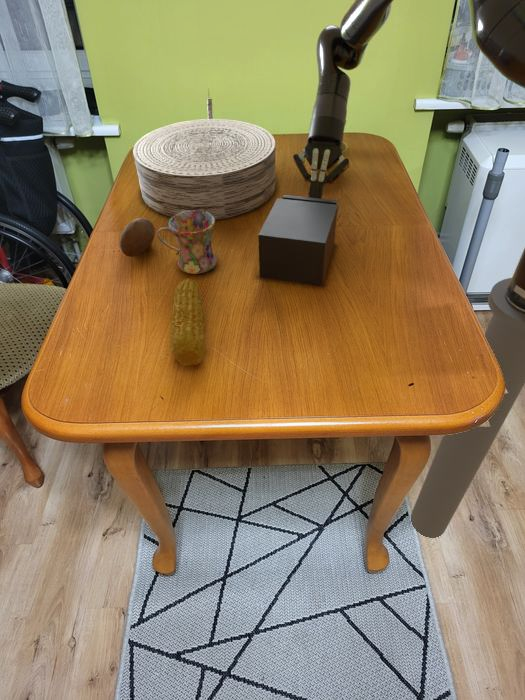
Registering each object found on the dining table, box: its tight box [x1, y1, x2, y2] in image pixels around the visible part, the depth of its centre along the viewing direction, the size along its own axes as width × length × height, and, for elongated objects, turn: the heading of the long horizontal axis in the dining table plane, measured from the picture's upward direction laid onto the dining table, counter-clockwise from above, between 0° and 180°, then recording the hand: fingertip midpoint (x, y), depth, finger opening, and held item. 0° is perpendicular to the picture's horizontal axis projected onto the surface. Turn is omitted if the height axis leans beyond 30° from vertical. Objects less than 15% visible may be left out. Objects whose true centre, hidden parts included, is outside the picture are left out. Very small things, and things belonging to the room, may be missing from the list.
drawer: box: [282, 194, 338, 205], centre depth 100 cm, size 18×11×8 cm, turn 165°
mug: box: [156, 210, 218, 275], centre depth 96 cm, size 11×9×10 cm
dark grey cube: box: [257, 198, 339, 287], centre depth 96 cm, size 15×13×10 cm
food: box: [170, 278, 207, 367], centre depth 83 cm, size 21×6×6 cm, turn 9°
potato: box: [119, 217, 156, 257], centre depth 101 cm, size 7×12×7 cm, turn 175°
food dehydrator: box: [132, 88, 276, 220], centre depth 119 cm, size 38×34×18 cm
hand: (314, 200), depth 106 cm, fingers closed
